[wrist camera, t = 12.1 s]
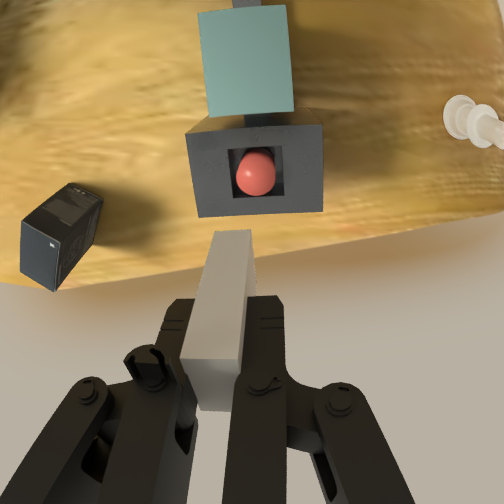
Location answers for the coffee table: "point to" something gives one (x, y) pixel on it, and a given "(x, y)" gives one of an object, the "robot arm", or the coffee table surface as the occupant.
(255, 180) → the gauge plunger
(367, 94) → the coffee table surface
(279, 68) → the block
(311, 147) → the gray button box
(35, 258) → the box
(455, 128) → the candle
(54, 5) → the coffee table surface
